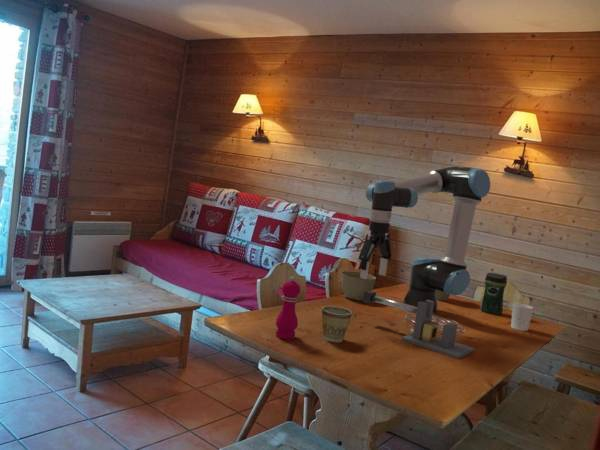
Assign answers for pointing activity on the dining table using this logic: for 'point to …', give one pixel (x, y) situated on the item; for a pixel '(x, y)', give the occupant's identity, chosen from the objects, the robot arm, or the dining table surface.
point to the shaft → (387, 302)
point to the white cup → (521, 316)
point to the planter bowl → (356, 284)
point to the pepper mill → (288, 310)
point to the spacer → (430, 331)
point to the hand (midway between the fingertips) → (373, 276)
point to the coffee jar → (494, 293)
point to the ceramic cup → (335, 322)
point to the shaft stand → (441, 344)
